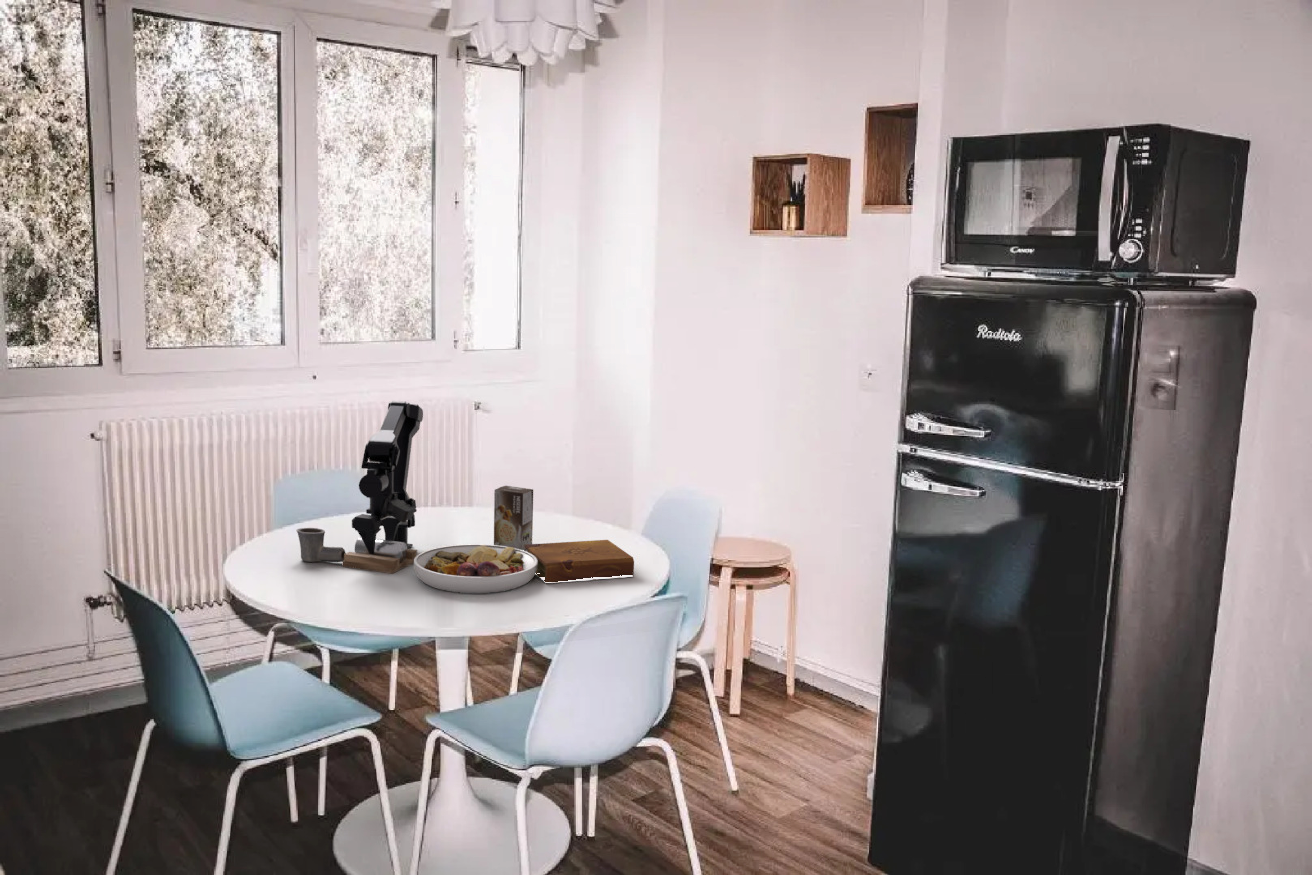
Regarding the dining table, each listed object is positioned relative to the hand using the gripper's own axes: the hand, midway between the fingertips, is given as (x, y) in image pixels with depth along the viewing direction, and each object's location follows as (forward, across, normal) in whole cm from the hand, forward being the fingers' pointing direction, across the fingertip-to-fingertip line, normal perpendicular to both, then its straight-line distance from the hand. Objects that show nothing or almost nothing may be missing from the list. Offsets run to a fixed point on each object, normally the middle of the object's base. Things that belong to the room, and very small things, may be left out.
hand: (381, 549), depth 298 cm
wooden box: (+4, +16, -47) cm, 50 cm away
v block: (+4, 0, 0) cm, 4 cm away
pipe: (+4, -5, +14) cm, 16 cm away
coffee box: (+4, +30, -23) cm, 38 cm away
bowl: (+4, -1, -27) cm, 27 cm away
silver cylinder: (0, 0, 0) cm, 0 cm away
